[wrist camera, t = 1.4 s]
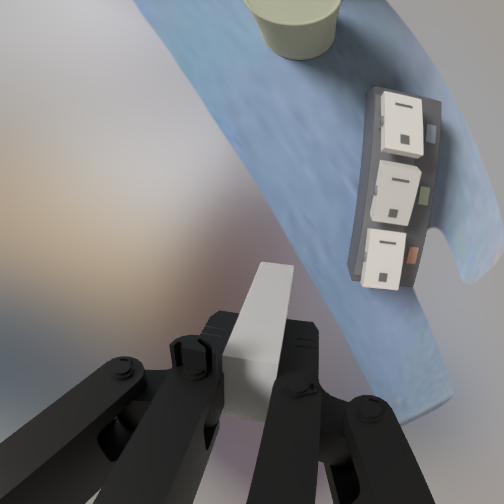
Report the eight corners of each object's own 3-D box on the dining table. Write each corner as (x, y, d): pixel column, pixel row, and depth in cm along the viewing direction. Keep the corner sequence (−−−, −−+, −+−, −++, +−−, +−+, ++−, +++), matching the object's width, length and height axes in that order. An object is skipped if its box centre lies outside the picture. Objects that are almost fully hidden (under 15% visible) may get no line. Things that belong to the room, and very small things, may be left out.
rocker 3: (365, 227, 30) (369, 228, 28) (403, 233, 29) (408, 233, 28) (358, 283, 31) (361, 286, 29) (395, 287, 30) (400, 290, 28)
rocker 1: (378, 96, 25) (382, 90, 23) (417, 105, 24) (423, 99, 23) (378, 151, 26) (383, 147, 24) (419, 159, 25) (425, 155, 23)
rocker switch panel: (366, 93, 30) (376, 84, 24) (425, 106, 29) (445, 100, 23) (347, 264, 38) (352, 284, 32) (402, 270, 37) (415, 291, 31)
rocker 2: (378, 159, 26) (381, 164, 25) (418, 166, 25) (423, 172, 24) (368, 213, 30) (370, 220, 28) (405, 218, 29) (409, 226, 28)
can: (349, 25, 27) (363, -19, 16) (307, 73, 31) (306, 42, 20) (288, -11, 26) (278, -60, 15) (246, 36, 30) (219, -3, 19)
